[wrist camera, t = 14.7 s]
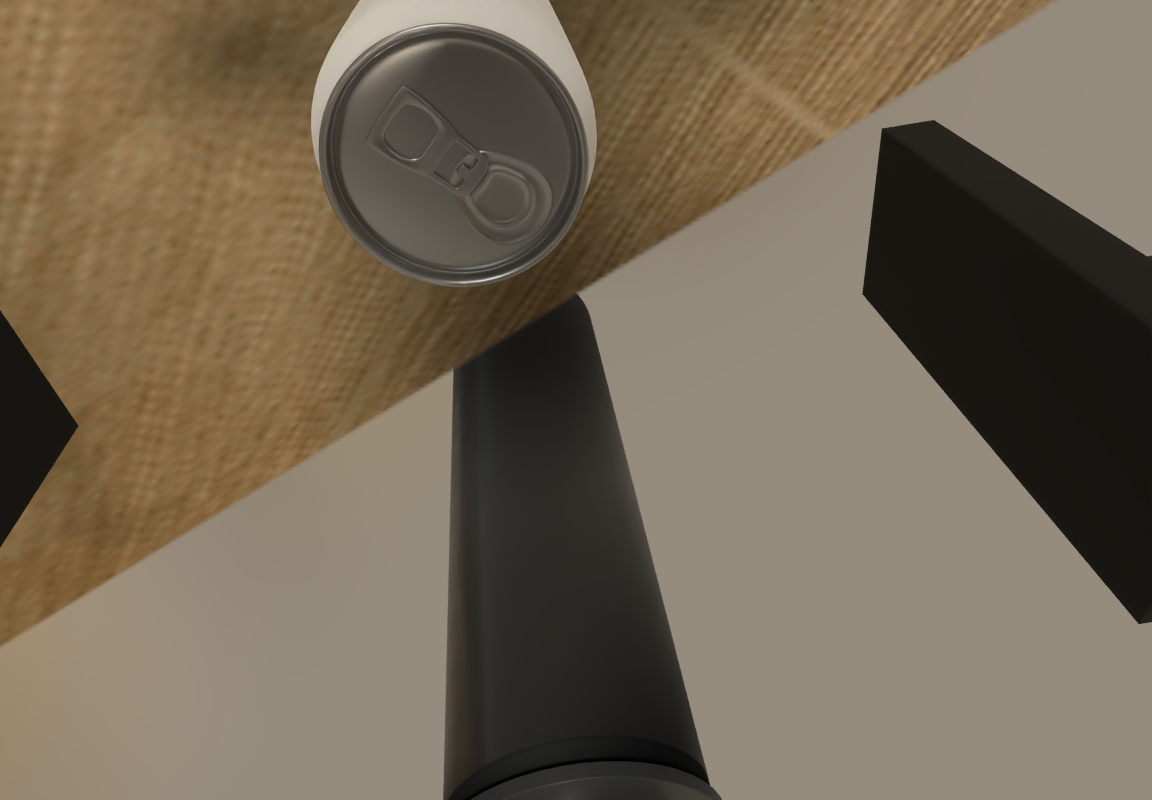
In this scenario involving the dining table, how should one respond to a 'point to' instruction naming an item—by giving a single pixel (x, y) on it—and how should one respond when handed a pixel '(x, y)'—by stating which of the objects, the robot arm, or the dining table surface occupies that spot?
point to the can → (454, 135)
